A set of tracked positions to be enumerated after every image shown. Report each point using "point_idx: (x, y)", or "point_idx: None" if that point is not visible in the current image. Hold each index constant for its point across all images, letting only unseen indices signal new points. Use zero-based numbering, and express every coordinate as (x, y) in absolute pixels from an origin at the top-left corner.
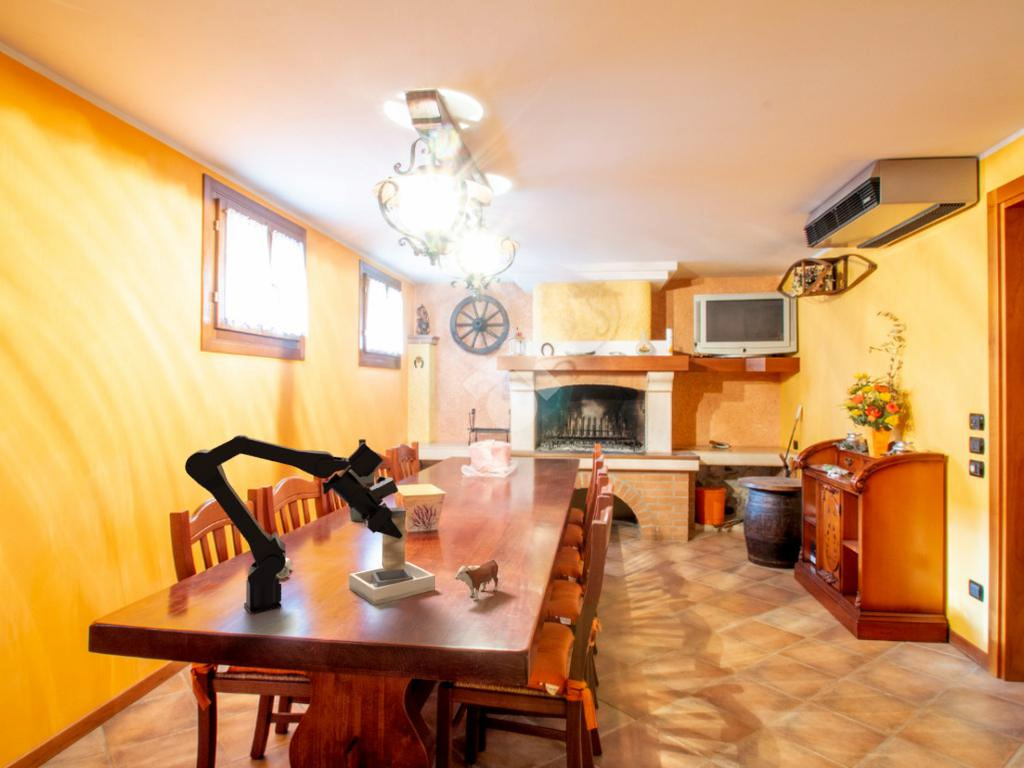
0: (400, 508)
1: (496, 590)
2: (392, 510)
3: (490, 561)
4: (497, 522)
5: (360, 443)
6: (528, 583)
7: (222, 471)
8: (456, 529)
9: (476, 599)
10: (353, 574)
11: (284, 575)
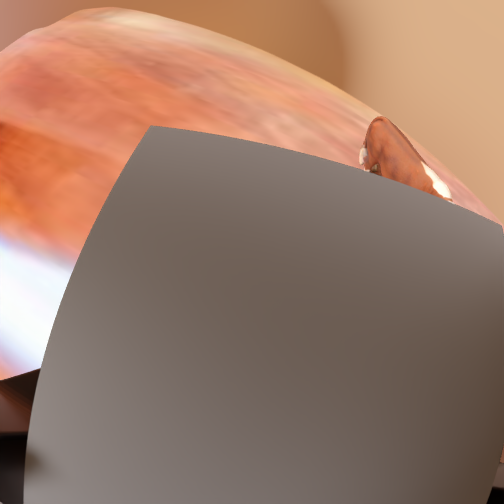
0: (282, 209)
1: (376, 167)
2: (438, 464)
3: (396, 128)
4: (41, 47)
5: None
6: (354, 112)
7: None
8: (4, 92)
9: None
10: None
11: None
